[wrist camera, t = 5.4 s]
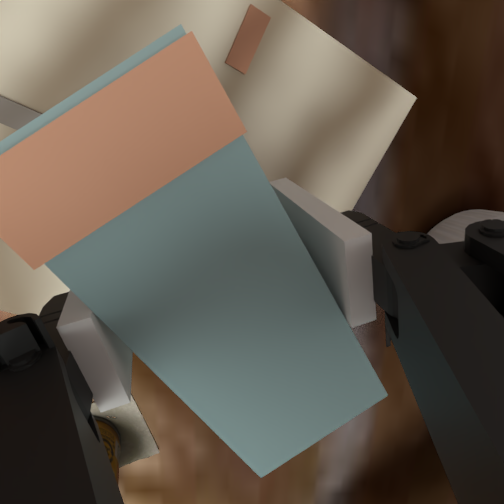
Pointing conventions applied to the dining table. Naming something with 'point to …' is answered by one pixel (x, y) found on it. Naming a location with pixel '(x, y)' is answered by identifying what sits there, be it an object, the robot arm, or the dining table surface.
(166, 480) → the dining table surface
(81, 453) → the robot arm
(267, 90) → the post base
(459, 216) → the ramekin
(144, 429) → the condiment
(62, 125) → the teal block on base
